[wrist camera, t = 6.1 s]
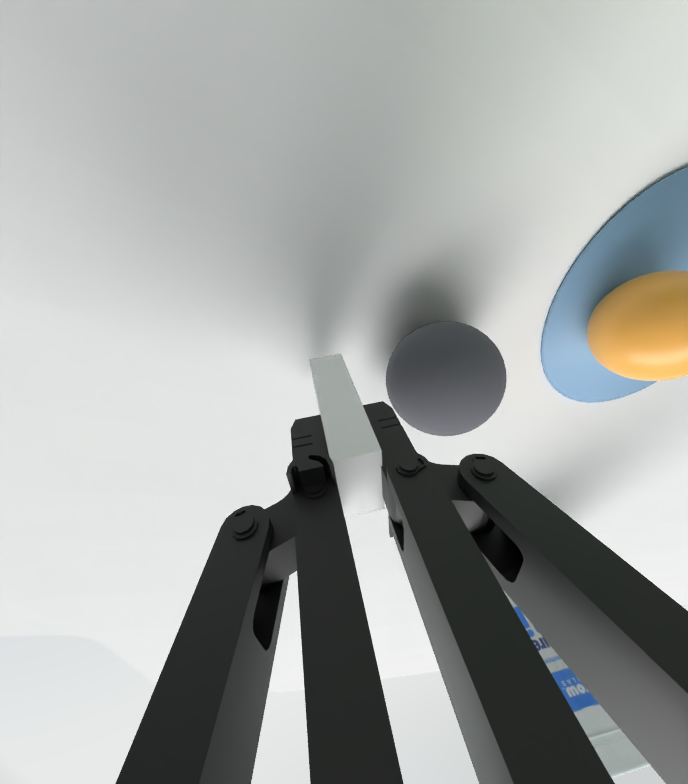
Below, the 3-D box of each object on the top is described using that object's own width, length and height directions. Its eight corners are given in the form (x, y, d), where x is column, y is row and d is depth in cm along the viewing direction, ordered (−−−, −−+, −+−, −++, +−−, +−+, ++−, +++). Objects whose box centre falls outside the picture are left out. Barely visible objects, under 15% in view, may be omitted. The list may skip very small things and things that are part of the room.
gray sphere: (559, 399, 12) (507, 335, 16) (448, 333, 11) (424, 283, 15) (460, 474, 15) (439, 404, 19) (364, 430, 14) (365, 365, 18)
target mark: (513, 284, 16) (515, 285, 16) (801, 77, 13) (808, 76, 13) (565, 432, 23) (567, 434, 23) (758, 318, 21) (762, 319, 21)
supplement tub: (511, 525, 30) (676, 756, 17) (534, 559, 35) (674, 756, 22) (425, 571, 31) (521, 811, 19) (459, 597, 36) (552, 799, 24)
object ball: (789, 346, 11) (782, 302, 14) (649, 261, 13) (668, 237, 16) (639, 418, 16) (657, 373, 19) (548, 348, 17) (578, 316, 20)
